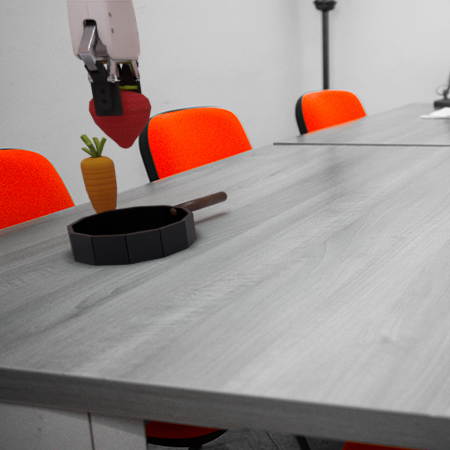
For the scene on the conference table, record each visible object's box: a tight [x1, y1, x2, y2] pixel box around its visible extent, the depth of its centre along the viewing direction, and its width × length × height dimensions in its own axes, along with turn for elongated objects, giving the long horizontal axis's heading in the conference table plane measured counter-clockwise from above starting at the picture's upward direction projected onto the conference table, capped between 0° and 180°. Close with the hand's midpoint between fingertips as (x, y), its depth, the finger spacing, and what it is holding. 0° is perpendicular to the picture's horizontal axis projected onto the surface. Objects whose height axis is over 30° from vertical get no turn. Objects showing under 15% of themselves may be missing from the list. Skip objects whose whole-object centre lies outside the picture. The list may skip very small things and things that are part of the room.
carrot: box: [79, 133, 118, 214], centre depth 92 cm, size 5×5×15 cm
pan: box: [66, 190, 228, 266], centre depth 87 cm, size 27×16×4 cm, turn 153°
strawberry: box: [88, 86, 152, 150], centre depth 75 cm, size 6×8×10 cm
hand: (121, 111), depth 75 cm, fingers closed on strawberry, 6 cm apart
